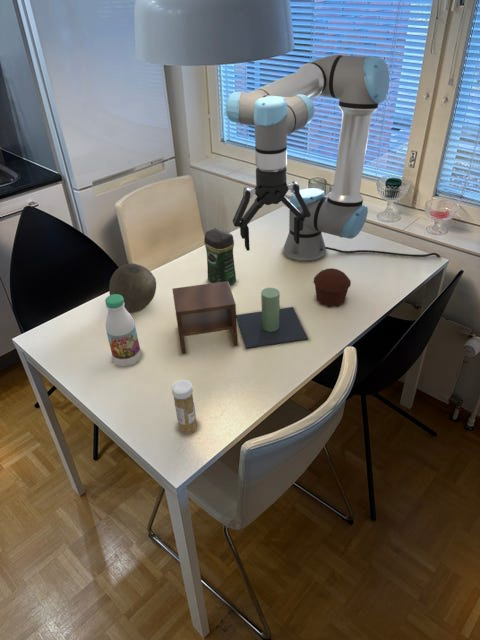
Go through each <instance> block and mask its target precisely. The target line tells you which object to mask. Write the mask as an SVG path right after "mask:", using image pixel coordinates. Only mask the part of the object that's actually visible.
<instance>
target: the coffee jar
mask: <svg viewBox="0 0 480 640" xmlns="http://www.w3.org/2000/svg"><path fill="white" fill-rule="evenodd" d="M203 243H204V247H205V251H206V267H207V269H206V270H207V271H206V273H207V281H208V283H209V284H210V283H217V282H225V281H228V282H229V285H230V287H232V286H233V285H234V284H236V282H237V276H236V267H235V266H236V265H235V258H234V246H235V240H234V236H233V234H231V233H230V232H228V231H225V230H223V229H220V228H216V227H214V228H211V229H210V230H206V232H205V234H204V239H203Z"/></svg>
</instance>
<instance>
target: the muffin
mask: <svg viewBox="0 0 480 640" xmlns="http://www.w3.org/2000/svg"><path fill="white" fill-rule="evenodd" d="M312 283H313V284H314V288H315V297H316V301H317V302H318V303H319V305H321V306H324V307H328V308H336V307H337V308H338V307H339V306H341V305H344V304H345V301H346V297H347V294H348V290H349V289H350V287H351V285H352V280H350V278H349V277H348V275H346V273H345V272H344V271H342V270H340V269H339V268H333V267H332V268H331V267H330V268H325V269H322V270H320V271H319V272H317V274H316V275H315V276H314V277H313V282H312Z"/></svg>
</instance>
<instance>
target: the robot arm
mask: <svg viewBox="0 0 480 640" xmlns="http://www.w3.org/2000/svg"><path fill="white" fill-rule="evenodd" d="M389 86H390V72H389V68H388V64H387V63H386V61H385V60H384V59H382V58H381V57H375V56H370V55H368V56H365V55H364V56H362V55H342V54H333V55H328V56H323V57H321V58H320V57H319V58H317V59H314V60H312V61H309V62H306V63H305V64H303V65H301V66H300V67H299V68H298V69H297V71H295V72H293V73H291V74H288V75H286V76H284V77H282V78H281V77H280V78H279V79H277V80H274V81H272V82H270V83H267V84H266V85H263V86H261V87H258V88H256V89H254V90H253V89H252V90H250V91H248V92H246V91H242V90H241V91H234V92H232V93H230V95H228V97H227V100H226V104H225V111H226V117H227V118H228V120H229V121H230V122H232V123H235V124H240V125H241V126H242V125H246V126H252V127H254V144H255V146H254V151H255V152H254V153H255V155H254V156H255V167H256V168H255V187H254V188H249V187H247V186H246V187H244V188H243V192H242V198H241V200H240V202H239V205H238V207H237V209H236V212H235V214H234V215H233V218H232V224H233V226H234V227H235V228H239V235H240V238H241V239H244V247H245V250H246V252H250V249H251V247H250V228H249V226H248V225H249V223H250V222H251V221H252V219H253V218H254V217H255V215H256V214H257V213H258V211H260V209H261V208H263V207H264V205H266V206H270V205H278V204H279V203H283V204H284V206H286V207H287V209H289V213H288V215H289V216H288V218H289V220H288V223H289V224H288V226H289V227H288V234H287V237H286V239H285V242H284V245H283V254H284V256H286V257H287V258H288V259H290V260H292V261H296V262H303V263H307V262H315V261H318V260H321V259H322V258H323V257H324V256H325V255H326V250H329V251H332V252H333V251H334V252H338V253H341V254H355V253H356V254H357V253H371V254H383V255H392V256H401V257H413V258H426V257H430V256H436V257H438V258H440V257H441V255H440V254H439V253H437V252H430V253H426V254H416V253H415V254H412V253H401V252H400V253H399V252H391V251H383V250H370V249H358V250H357V249H356V250H341V249H338V248H335V247H330V246H326V244H325V240H324V237H323V233H324V234H328V235H332V236H335V237H339V238H344V239H350V240H351V239H355V238H356V237H357V236H358V235H359V234H360V232H361V230H362V229H363V227H364V225H365V224H366V221H367V217H368V212H369V210H368V206H367V205H366V204H364V196H363V195H362V194H361V192H360V191H361V186H362V185H361V184H362V179H363V173H364V167H365V159H366V152H367V146H368V141H369V140H368V139H369V135H370V128H371V121H372V115H373V114H374V113H375V112H376V111H377V110H378V109H379V104H381V103H383V102H384V101H385V100H386V98H387V94H388V92H389V89H390V88H389ZM317 97H323V98H332V99H338V108H339V109H340V110H341V112H342V115H341V116H342V117H341V122H340V123H341V125H340V133H339V139H338V149H337V156H336V162H335V170H334V171H335V172H334V177H333V178H334V180H333V187H332V190H331V191H330V192H329V193H327V197H326V196H325V191H324V190H323V189H321V188H318V187H317V188H315V187H311V188H310V187H309V188H302V189H300V185H299V184H298V183H297V181H296V180H293V181H292V182H291V183H289V184H288V183H287V176H288V175H287V174H288V171H287V170H288V169H287V167H286V166H288V146H287V145H288V136H290V135H291V134H293V133H295V132H297V131H299V130H303V129H304V128H305V127H306V126H307V125H309V124H310V123H311V122H312V121H313V119H314V117H315V110H316V109H315V105H314V103H313V100H312V99H316V98H317ZM289 191H290V193H292V194H291V196H290V198H289V199H288V197H286V195H287V193H288V192H289ZM254 195H255V196H256V198H255V199H254V201H253V203H252V204H251V205H250V206H249V203H250V200H251V199H252V198H253V196H254ZM248 207H249V208H248ZM247 208H248V209H247ZM246 210H247V211H246Z"/></svg>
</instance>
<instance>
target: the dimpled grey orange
mask: <svg viewBox="0 0 480 640" xmlns="http://www.w3.org/2000/svg"><path fill="white" fill-rule="evenodd" d="M108 289H109V290H108V291H109V292H108V293H109V296H110V295H113V294H119V295H121V296H122V297H123V299H124V307H125V309H126V310H127V311H128V313H129V314H134V313H138V312H141V311H143V310H144V309H146V308H147V307H148V306H149V305H150V303H151V302H152V301H153V300H154V297H155V295H156V291H157V280H156V277H155V275H154V274H153V273H152V271H150V269H148V268H147V267H145V266H143V265H141V264H138V263H125V264H123V265H121V266H119V267H118V268H116V270H115V271H114V272H113V273H112V275H111V277H110V280H109V287H108Z"/></svg>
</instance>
